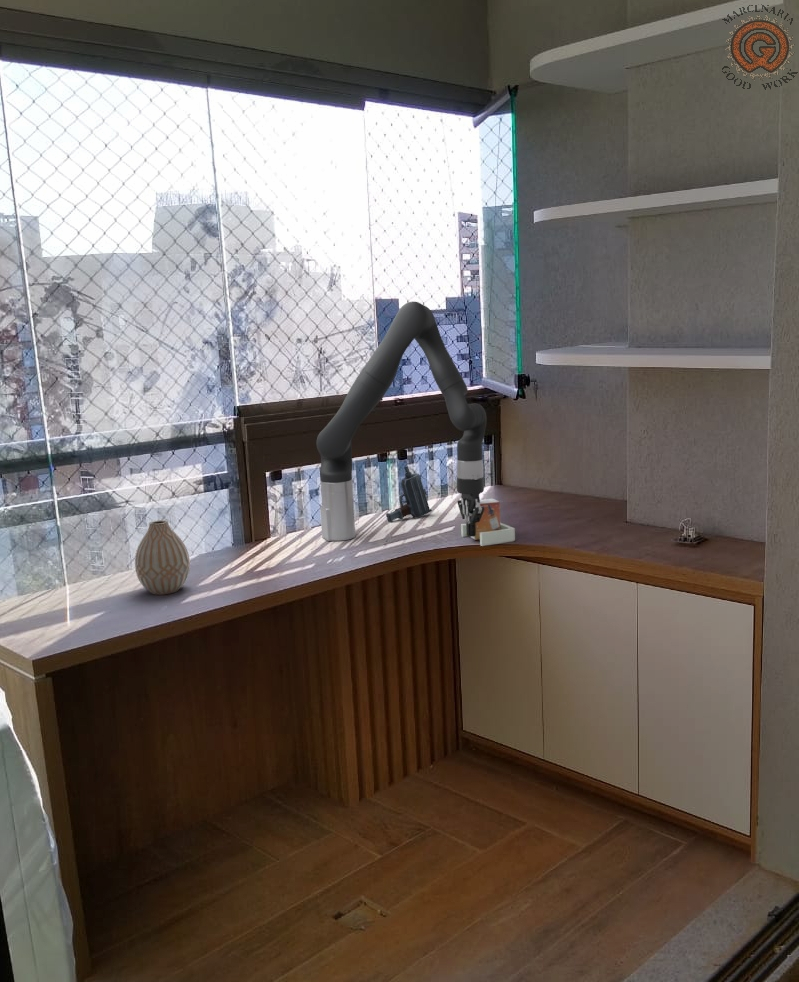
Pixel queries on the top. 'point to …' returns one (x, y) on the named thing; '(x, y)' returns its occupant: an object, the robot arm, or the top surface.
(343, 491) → the robot arm
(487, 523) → the small box
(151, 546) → the vase
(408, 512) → the gun
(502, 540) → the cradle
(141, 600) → the top surface
